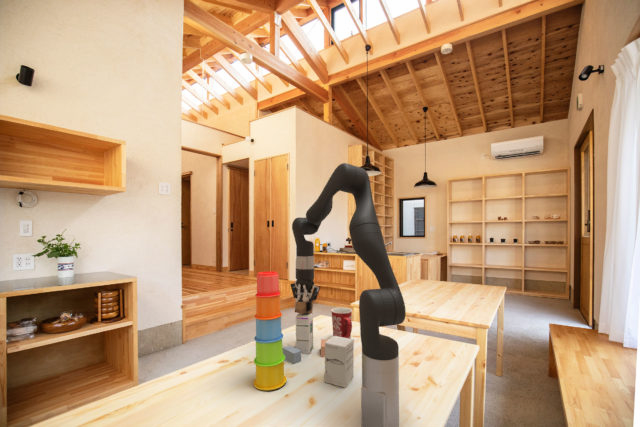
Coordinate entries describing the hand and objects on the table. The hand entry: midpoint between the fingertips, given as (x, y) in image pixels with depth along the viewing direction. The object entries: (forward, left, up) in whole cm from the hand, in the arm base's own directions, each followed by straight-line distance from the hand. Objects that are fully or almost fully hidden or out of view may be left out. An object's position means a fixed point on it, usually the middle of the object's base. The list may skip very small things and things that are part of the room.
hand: (304, 310), depth 117 cm
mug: (+15, -9, -16) cm, 24 cm away
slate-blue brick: (-9, -1, -16) cm, 18 cm away
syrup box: (0, 0, -16) cm, 16 cm away
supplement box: (-11, -23, -16) cm, 30 cm away
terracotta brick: (+3, -8, -16) cm, 18 cm away
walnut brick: (-1, 0, -1) cm, 1 cm away
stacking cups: (-25, -6, -16) cm, 30 cm away
